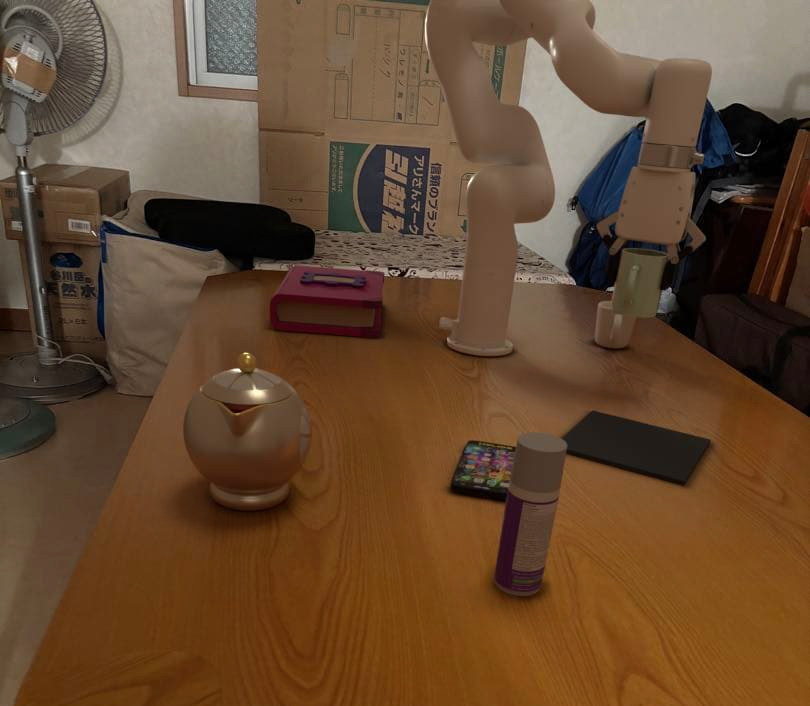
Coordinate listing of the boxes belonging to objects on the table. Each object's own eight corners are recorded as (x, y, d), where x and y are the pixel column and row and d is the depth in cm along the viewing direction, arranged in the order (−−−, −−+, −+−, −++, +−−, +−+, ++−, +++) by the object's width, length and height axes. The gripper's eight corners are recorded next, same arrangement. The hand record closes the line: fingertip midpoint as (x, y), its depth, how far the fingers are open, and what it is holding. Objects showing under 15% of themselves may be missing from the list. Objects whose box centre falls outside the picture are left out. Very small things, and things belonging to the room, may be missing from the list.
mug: (616, 304, 127) (628, 246, 123) (660, 312, 124) (674, 253, 120) (599, 315, 119) (611, 254, 115) (646, 323, 116) (660, 261, 112)
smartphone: (448, 484, 92) (467, 438, 105) (447, 491, 92) (466, 445, 105) (513, 495, 91) (525, 448, 103) (512, 502, 91) (524, 454, 104)
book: (269, 330, 147) (269, 289, 143) (288, 297, 171) (288, 261, 168) (379, 338, 148) (382, 298, 144) (382, 304, 172) (385, 269, 168)
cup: (631, 357, 151) (641, 316, 147) (590, 351, 152) (599, 310, 148) (629, 343, 160) (638, 303, 156) (590, 338, 161) (598, 299, 157)
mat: (552, 449, 107) (553, 445, 106) (591, 413, 121) (592, 410, 120) (684, 485, 100) (685, 481, 99) (709, 443, 114) (710, 439, 113)
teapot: (303, 531, 82) (306, 381, 73) (173, 523, 81) (160, 371, 73) (317, 461, 97) (321, 331, 89) (208, 454, 96) (201, 322, 88)
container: (489, 569, 78) (511, 430, 70) (534, 570, 78) (561, 432, 71) (498, 596, 74) (522, 451, 66) (545, 597, 74) (575, 453, 67)
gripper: (731, 164, 112) (699, 290, 120) (613, 153, 118) (591, 273, 127) (723, 165, 106) (691, 298, 114) (599, 153, 112) (577, 279, 121)
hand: (638, 284), depth 121 cm, fingers closed on mug, 7 cm apart
